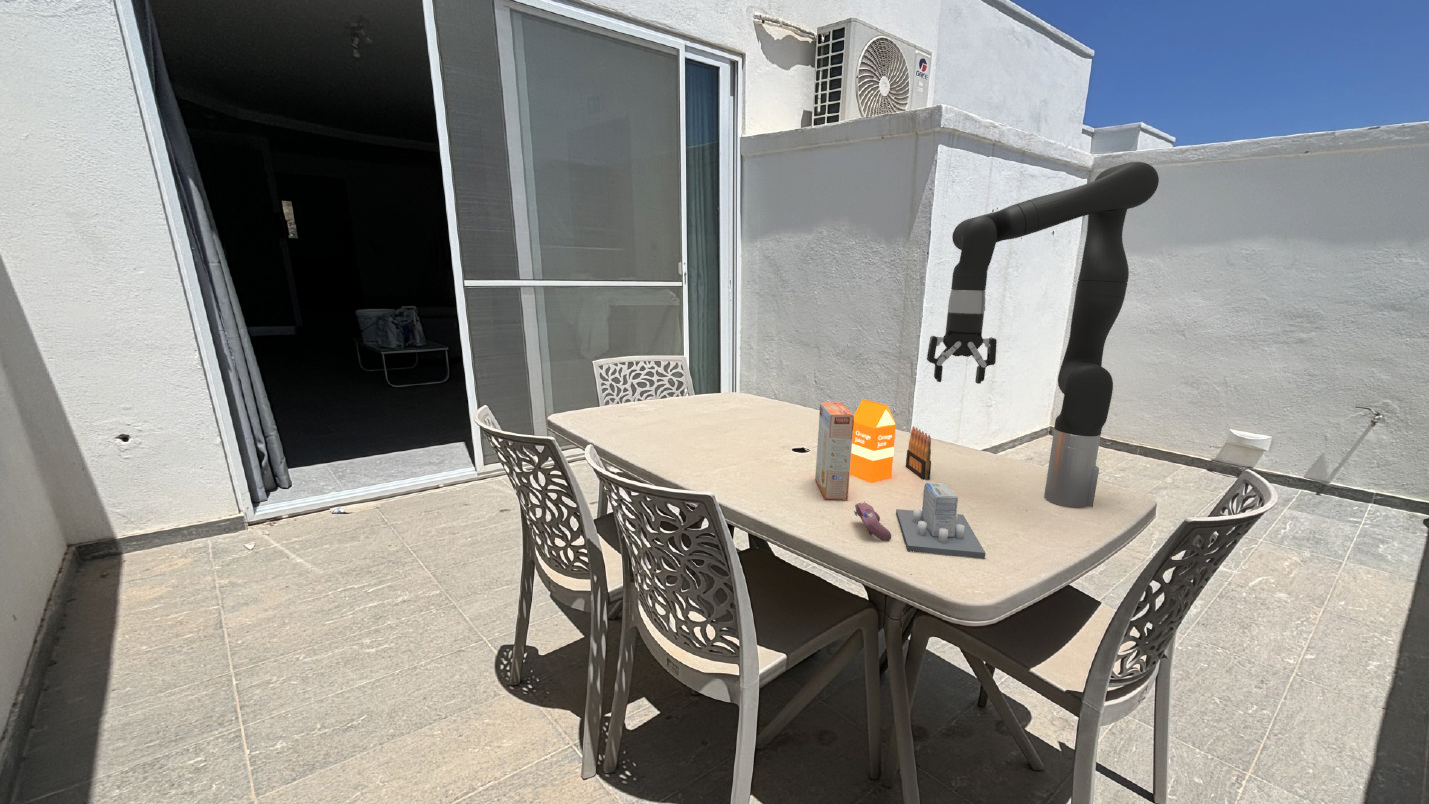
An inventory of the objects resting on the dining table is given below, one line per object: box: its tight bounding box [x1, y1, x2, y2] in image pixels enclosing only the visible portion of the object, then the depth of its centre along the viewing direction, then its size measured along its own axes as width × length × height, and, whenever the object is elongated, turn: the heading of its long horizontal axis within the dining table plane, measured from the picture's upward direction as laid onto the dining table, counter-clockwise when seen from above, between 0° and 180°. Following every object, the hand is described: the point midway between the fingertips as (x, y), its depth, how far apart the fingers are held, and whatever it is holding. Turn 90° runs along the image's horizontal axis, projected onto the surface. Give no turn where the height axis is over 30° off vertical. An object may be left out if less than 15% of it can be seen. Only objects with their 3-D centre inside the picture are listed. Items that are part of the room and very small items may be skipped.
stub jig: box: [895, 508, 987, 560], centre depth 117 cm, size 14×18×4 cm
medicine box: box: [921, 482, 959, 537], centre depth 116 cm, size 8×4×9 cm, turn 176°
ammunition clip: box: [905, 425, 932, 481], centre depth 153 cm, size 11×2×12 cm, turn 7°
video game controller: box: [853, 501, 892, 542], centre depth 118 cm, size 10×5×7 cm, turn 0°
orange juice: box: [849, 398, 897, 484], centre depth 150 cm, size 8×9×20 cm
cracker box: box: [814, 401, 854, 501], centre depth 139 cm, size 14×6×21 cm, turn 179°
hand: (958, 382), depth 131 cm, fingers open, 8 cm apart
